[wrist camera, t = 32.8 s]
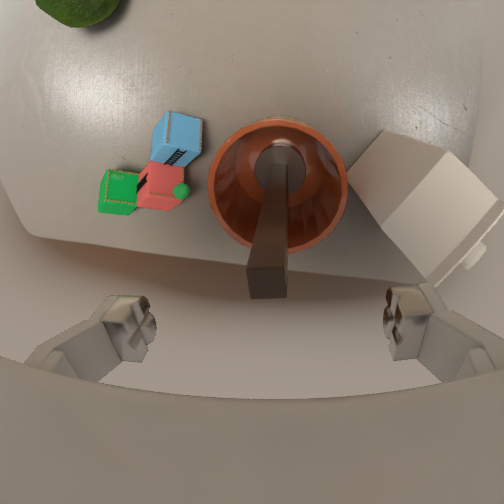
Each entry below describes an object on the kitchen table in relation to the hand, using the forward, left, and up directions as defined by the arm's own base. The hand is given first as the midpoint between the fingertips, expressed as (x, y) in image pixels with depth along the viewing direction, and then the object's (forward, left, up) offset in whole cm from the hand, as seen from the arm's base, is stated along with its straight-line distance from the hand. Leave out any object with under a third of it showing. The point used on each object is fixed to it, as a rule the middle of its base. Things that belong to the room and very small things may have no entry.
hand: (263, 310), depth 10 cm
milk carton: (-12, +2, -26) cm, 28 cm away
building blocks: (+14, -2, -26) cm, 29 cm away
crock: (0, 0, -25) cm, 25 cm away
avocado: (+18, -24, -26) cm, 39 cm away
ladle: (0, 0, -25) cm, 25 cm away
